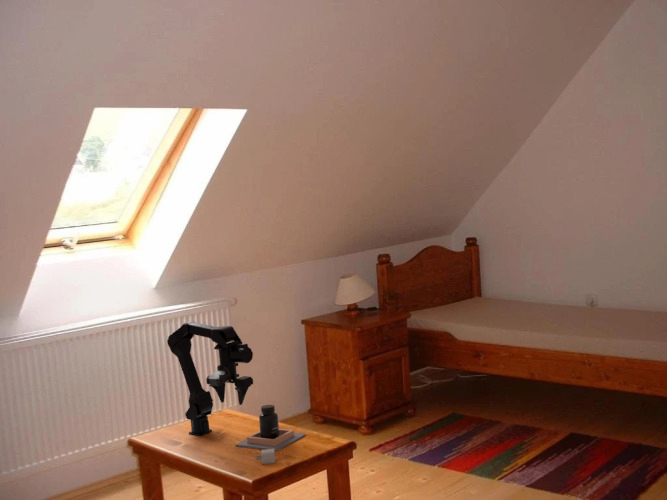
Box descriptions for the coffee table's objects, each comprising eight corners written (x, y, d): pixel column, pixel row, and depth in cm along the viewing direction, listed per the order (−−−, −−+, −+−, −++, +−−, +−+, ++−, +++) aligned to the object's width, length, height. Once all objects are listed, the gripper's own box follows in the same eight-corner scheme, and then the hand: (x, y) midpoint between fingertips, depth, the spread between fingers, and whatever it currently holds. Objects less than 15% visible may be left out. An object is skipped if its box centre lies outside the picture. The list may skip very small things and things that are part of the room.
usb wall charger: (275, 463, 261) (274, 451, 260) (254, 466, 260) (253, 454, 260) (275, 459, 265) (274, 448, 264) (254, 462, 264) (253, 450, 264)
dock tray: (235, 446, 283) (234, 439, 282) (265, 431, 298) (265, 424, 298) (276, 451, 273) (276, 443, 273) (305, 435, 288) (305, 428, 288)
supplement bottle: (278, 441, 282) (275, 408, 281) (259, 442, 282) (256, 409, 281) (281, 435, 288) (278, 403, 288) (262, 436, 289) (259, 404, 288)
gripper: (193, 364, 289) (197, 406, 290) (230, 368, 278) (234, 411, 279) (215, 358, 298) (219, 399, 299) (252, 361, 287) (256, 403, 288)
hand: (231, 403), depth 291 cm, fingers open, 9 cm apart
